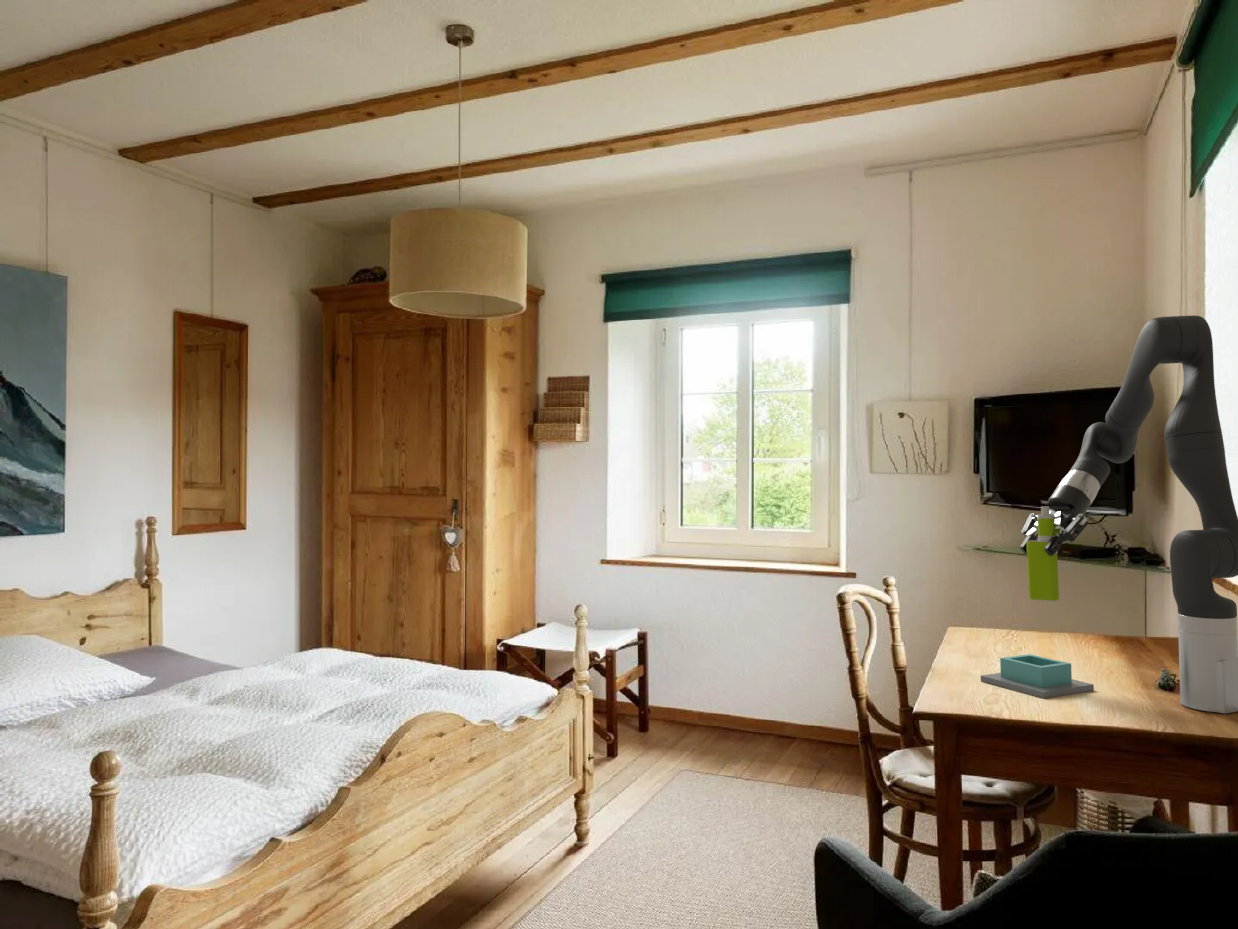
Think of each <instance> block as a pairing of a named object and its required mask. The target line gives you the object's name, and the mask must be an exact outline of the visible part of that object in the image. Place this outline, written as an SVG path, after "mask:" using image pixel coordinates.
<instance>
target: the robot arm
mask: <svg viewBox="0 0 1238 929" xmlns="http://www.w3.org/2000/svg"><path fill="white" fill-rule="evenodd" d="M1213 344H1214V343H1213V337H1212V331H1211V328H1210V325H1209V322H1207V320H1206V319H1205V318H1204V317H1202V316H1200V315H1194V314H1193V315H1174V316H1173V315H1171V316H1159V317H1153V318H1151V319H1149V320H1148V321H1147V323H1145V324H1144V326H1143V327H1142V329H1141V331H1140V333H1139V335H1138V337H1137V340H1136V342H1135V346H1134V349H1133V352H1132V354H1131V357H1130V360H1129V364H1128V367H1127V371H1126V373H1125V375H1124V380H1123V381H1122V382H1123V383H1122V385H1121V387H1120V389H1119V391H1118V393H1117V395H1116V397H1115V398H1114V400H1113V402H1112V403H1111V405H1110V407H1109V409H1108V410H1107V412H1106V413H1105V416H1104V417H1105V418H1104V420H1105V422H1102V421H1099V422H1098V421H1097V422H1095V423H1092V424H1091V425H1090V426H1089V427H1088V428H1086V431H1085V433H1084V435H1083V439H1082V443H1081V446H1080V447H1081V448H1080V452H1079V455H1078V456H1077V459H1076V460H1075V462H1074V464H1073V465H1072V467H1071V468H1070V470H1069V471H1068V473H1067V474H1066V475H1065V476H1064V477H1063V478H1062V479H1061V481H1060V482H1059V484H1058V485H1057V486H1056V488H1055V489H1054V491H1053V493H1052V494H1051V496H1050V497H1049V498H1048V500H1047V502H1046V505H1047V506H1049V511H1050V514H1053V515H1054V532H1055V534H1054V535H1055V537H1052V538H1051V540H1050V541H1049V543H1048V544H1047V546H1046V547H1045V552H1046V553H1047V554H1048V555H1049V556H1053V555H1054V554H1055V553H1056V552H1057V551H1058V550H1059V549H1060V548H1061V546H1062V545H1063V544H1066V542H1068V541H1069V542H1070V543H1072V542H1074V541H1075V540H1076V539H1077V538H1078V537H1079V536H1080V534H1081V533H1082V532H1083V531H1084V529H1085V528H1086V527H1087V526H1088V525H1089V523H1090V521H1088V519H1087V518H1086V516H1085V514H1086V512H1087V511H1088V509H1089V507H1090V506H1091V505H1092V504H1093V502H1094V500H1095V499H1096V497H1097V495H1098V492H1099V490H1100V489H1101V487H1102V485H1103V484H1104V482H1105V481H1106V480H1107V478H1108V477H1109V474H1110V473H1111V466H1110V464H1109V463H1108V462H1107V461H1109V462H1111V463H1115V464H1123V463H1126V462H1128V461H1129V460H1130V459H1131V458H1132V457H1133V455H1134V453H1135V451H1136V448H1137V443H1138V436H1139V431H1140V428H1141V426H1142V424H1143V422H1144V421H1145V419H1146V418H1147V416H1148V415H1149V413H1150V412H1151V411H1152V410H1151V409H1152V408H1153V406H1154V402H1155V393H1154V388H1153V385H1152V382H1151V377H1150V376H1151V374H1152V373H1153V371H1154V369H1155V368H1157V366H1158V365H1161V364H1162V365H1167V364H1182V369H1183V370H1182V371H1183V373H1182V374H1183V386H1182V390H1181V393H1180V395H1179V397H1178V400H1177V402H1176V404H1175V405H1174V408H1173V409H1172V411H1171V413H1170V415H1169V417H1168V418H1167V421H1166V424H1165V428H1164V442H1165V447H1166V456H1167V461H1168V465H1169V467H1170V468H1171V469H1170V470H1172V472H1173V474H1174V475H1175V476H1176V477H1177V479H1178V480H1179V482H1180V483H1181V484H1182V485H1183V487H1184V488H1185V489H1186V490H1187V492H1188V493H1189V495H1190V496H1191V497H1192V498H1193V500H1194V502H1195V503H1196V504H1195V505H1197V509H1198V511H1199V515H1200V518H1201V524H1202V529H1188V530H1182V531H1180V532H1178V533H1176V535H1175V536H1174V537H1173V539H1172V541H1171V544H1170V548H1169V566H1170V575H1171V586H1172V587H1171V588H1172V594H1173V597H1174V601H1175V602H1176V606H1177V627H1178V628H1177V629H1178V631H1177V632H1178V661H1179V662H1178V664H1179V666H1178V667H1179V692H1180V693H1179V696H1180V701H1179V702H1180V704H1181V705H1182V706H1184V707H1186V708H1190V709H1192V710H1193V709H1194V710H1196V711H1197V710H1199V711H1205V712H1212V713H1220V714H1223V715H1225V714H1231V713H1237V712H1238V605H1237V603H1236V601H1234V600H1232V599H1231V598H1228V597H1225V596H1222V595H1220V594H1219V593H1217V592H1216V590H1215V586H1214V582H1213V581H1214V580H1213V579H1230V578H1235V577H1237V576H1238V515H1237V514H1238V513H1237V511H1236V506H1235V503H1234V499H1233V493H1232V489H1231V483H1230V478H1229V472H1228V467H1227V466H1228V465H1227V459H1226V451H1225V450H1226V449H1225V442H1224V437H1223V431H1222V426H1221V421H1220V416H1219V410H1218V403H1217V402H1218V401H1217V395H1216V386H1215V368H1214V367H1215V366H1214V346H1213ZM1106 460H1107V461H1106ZM1072 531H1073V532H1072ZM1020 532H1021V533H1022V535H1024V537H1025V539H1024V540H1023V541H1022V543H1021V544H1020V547H1019V548H1020V550H1021V552H1022V553H1023V554H1024V555H1027V544H1026V541H1028V540H1038V533H1037V532H1038V518H1037V514H1035V513H1034V512H1032V513H1030V514H1029V516H1028V517H1027V519H1026V522H1025V523H1024V526H1023V528H1022V529H1021V531H1020ZM1036 533H1037V534H1036ZM1058 552H1059V551H1058Z"/></svg>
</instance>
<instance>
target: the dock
mask: <svg viewBox="0 0 1238 929" xmlns="http://www.w3.org/2000/svg"><path fill="white" fill-rule="evenodd" d="M999 660H1000V662H999V663H1000V672H997V673H996V672H995V673H990V674H983V675H982V674H981V675H980V682H983V683H985V684H990V685H993V686H998V687H1001V688H1004V689H1008V690H1012V691H1015V692H1018V693H1022V694H1027V695H1030V696H1034V697H1036V698H1041V699H1048V698H1055V697H1060V696H1066V695H1072V694H1078V693H1079V694H1080V693H1085V692H1093V691H1094V690H1095V688H1094V684H1093V683H1090V682H1089V683H1088V682H1086V681H1082V680H1081V681H1080V680H1077V679H1073V678H1072V663H1071V662H1067V661H1061V660H1057V659H1053V658H1048V657H1044V656H1039V655H1034V654H1029V653H1028V654H1022V655H1020V654H1019V655H1013V656H1006V657H1000V659H999Z"/></svg>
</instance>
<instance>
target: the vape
mask: <svg viewBox="0 0 1238 929" xmlns="http://www.w3.org/2000/svg"><path fill="white" fill-rule="evenodd" d="M1040 512H1041V514H1036V516H1037V518H1038V531H1037V534H1038V540H1028V541H1026V544H1027V554H1026V562H1027V582H1028V584H1027V585H1028V600H1030V601H1041V602H1044V601H1045V602H1058V601H1060V590H1059V588H1060V587H1059V584H1060V583H1059V567H1058V566H1059V565H1058V552H1059V551H1057V552H1056V553H1055V554H1054V555H1053V556H1049V555H1048V554H1047V553H1046V552H1045V547H1046V546H1047V544H1048V543H1049V541H1050V540H1051V538H1052V537H1055V535H1054V534H1055V532H1054V515H1053V514H1050V511H1049V506H1043V505H1042V506H1040Z"/></svg>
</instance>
